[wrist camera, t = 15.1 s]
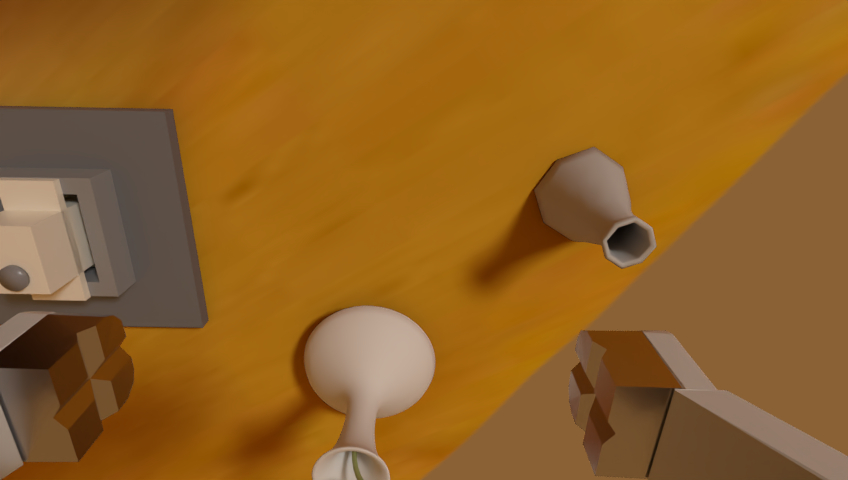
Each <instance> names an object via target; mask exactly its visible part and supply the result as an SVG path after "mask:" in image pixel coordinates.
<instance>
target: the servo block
mask: <svg viewBox="0 0 848 480" xmlns="http://www.w3.org/2000/svg"><path fill="white" fill-rule="evenodd" d="M0 199H1V202H2V205H3V208H4V211H1V212H0V294H31V295H32V298H33V300H71V301H86V300H87V299H89V298H90V297H91V296H90V292H89V289H88V285H87V281H86V278H85V274H84V271H85V270H86V269H88V268H89V267H91V266H92V265H93V264H95V263H94V259H93V255H92V251H91V247H90V244H89V240H88V236H87V232H86V228H85V224H84V220H83V217H82V213H81V209H80V205H79V201H78V198H64V196H63V192H62V189H61V185H60V181H59V179H47V178H0Z"/></svg>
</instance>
